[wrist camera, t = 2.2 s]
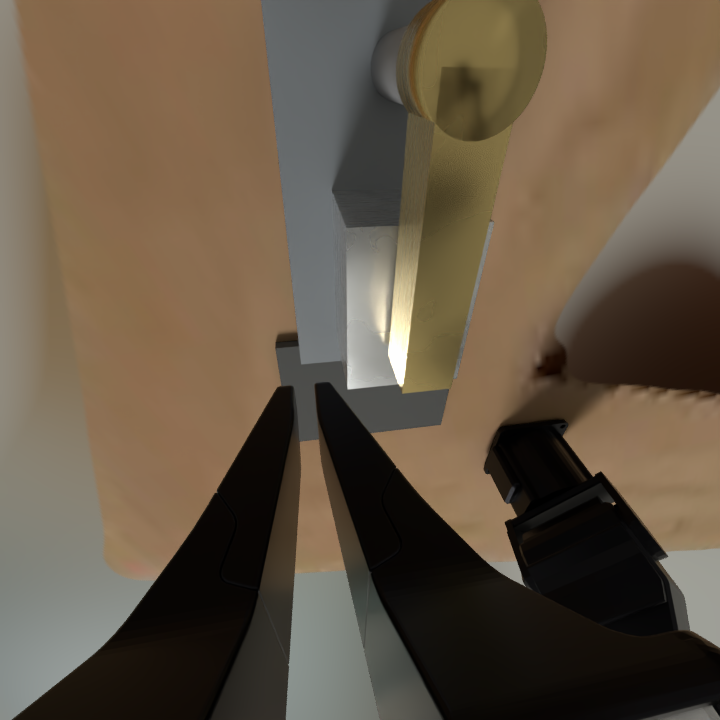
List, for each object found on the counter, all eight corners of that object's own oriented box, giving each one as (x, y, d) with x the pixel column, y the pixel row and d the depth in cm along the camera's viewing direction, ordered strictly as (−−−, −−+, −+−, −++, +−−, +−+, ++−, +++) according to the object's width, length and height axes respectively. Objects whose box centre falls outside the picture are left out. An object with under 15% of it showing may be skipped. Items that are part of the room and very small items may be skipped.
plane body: (494, 4, 15) (637, -37, 9) (438, 323, 24) (488, 406, 18) (263, -7, 13) (247, -63, 7) (299, 334, 23) (305, 427, 17)
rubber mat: (458, 327, 24) (461, 332, 24) (438, 419, 30) (440, 424, 30) (275, 342, 23) (275, 348, 22) (290, 436, 28) (290, 442, 28)
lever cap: (447, 187, 16) (494, 221, 12) (426, 324, 20) (456, 378, 17) (331, 190, 15) (346, 227, 12) (336, 331, 19) (347, 389, 16)
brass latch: (509, -4, 8) (566, -21, 7) (441, 350, 15) (461, 387, 13) (400, -9, 8) (431, -29, 6) (378, 356, 15) (391, 394, 13)
